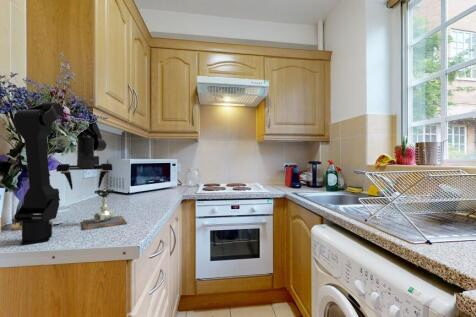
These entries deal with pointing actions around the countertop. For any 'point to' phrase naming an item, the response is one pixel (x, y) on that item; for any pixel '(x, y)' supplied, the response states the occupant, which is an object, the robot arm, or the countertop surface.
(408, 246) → the countertop surface
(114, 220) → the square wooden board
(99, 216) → the valve
